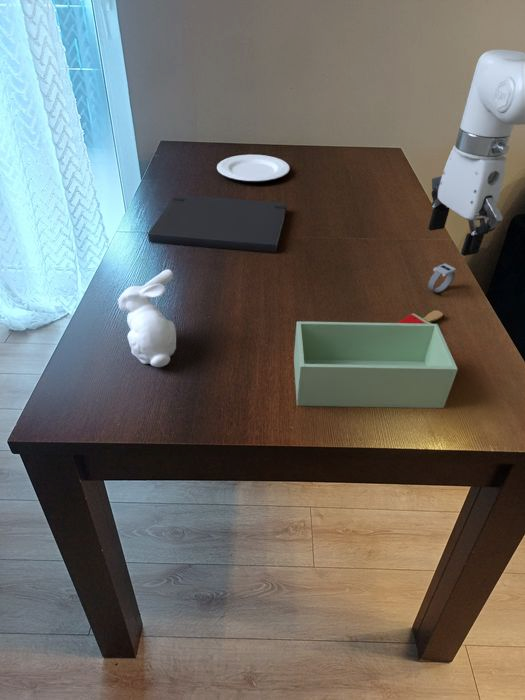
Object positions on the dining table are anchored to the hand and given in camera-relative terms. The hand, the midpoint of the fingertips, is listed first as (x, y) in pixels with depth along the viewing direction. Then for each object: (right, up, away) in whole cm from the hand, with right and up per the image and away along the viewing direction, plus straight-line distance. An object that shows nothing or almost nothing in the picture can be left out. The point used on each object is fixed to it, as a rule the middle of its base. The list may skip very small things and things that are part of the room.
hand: (451, 241), depth 89 cm
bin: (-18, -25, -14) cm, 34 cm away
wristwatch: (0, -8, +7) cm, 11 cm away
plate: (-37, +31, +53) cm, 72 cm away
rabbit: (-52, -19, -8) cm, 56 cm away
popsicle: (-8, -17, -3) cm, 19 cm away
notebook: (-44, +9, +26) cm, 52 cm away
